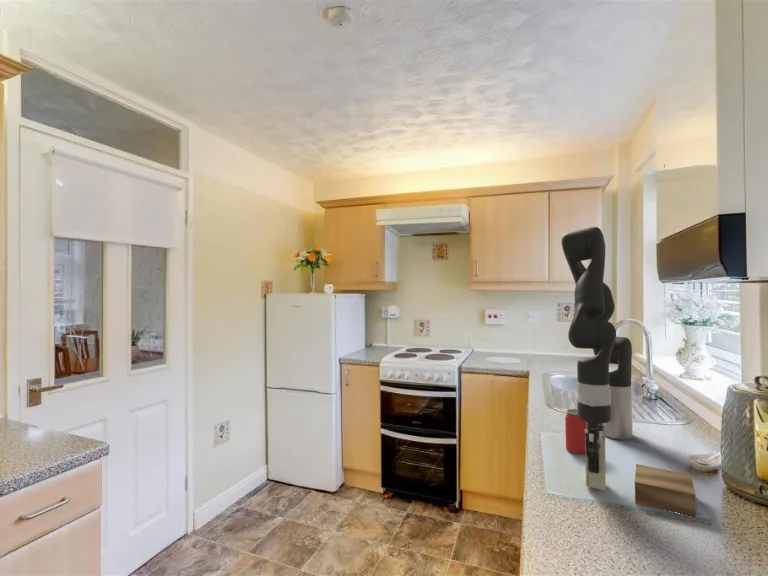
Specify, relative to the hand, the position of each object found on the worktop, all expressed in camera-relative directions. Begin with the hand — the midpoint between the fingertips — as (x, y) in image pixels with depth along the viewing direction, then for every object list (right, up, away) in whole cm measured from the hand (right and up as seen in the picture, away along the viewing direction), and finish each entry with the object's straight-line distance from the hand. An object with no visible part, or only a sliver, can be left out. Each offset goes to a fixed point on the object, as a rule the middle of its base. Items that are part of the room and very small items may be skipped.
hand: (595, 466), depth 98 cm
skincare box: (0, -4, 0) cm, 4 cm away
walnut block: (+13, -5, -6) cm, 15 cm away
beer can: (+6, -5, +22) cm, 24 cm away
